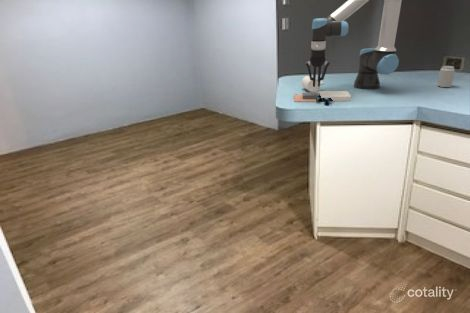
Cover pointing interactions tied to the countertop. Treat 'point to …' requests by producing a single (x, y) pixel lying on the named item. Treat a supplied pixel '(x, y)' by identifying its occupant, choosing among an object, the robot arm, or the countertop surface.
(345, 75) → the countertop surface
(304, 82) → the mug
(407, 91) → the countertop surface
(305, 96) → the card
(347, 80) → the countertop surface
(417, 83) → the countertop surface
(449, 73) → the can
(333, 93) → the deck
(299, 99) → the mat
